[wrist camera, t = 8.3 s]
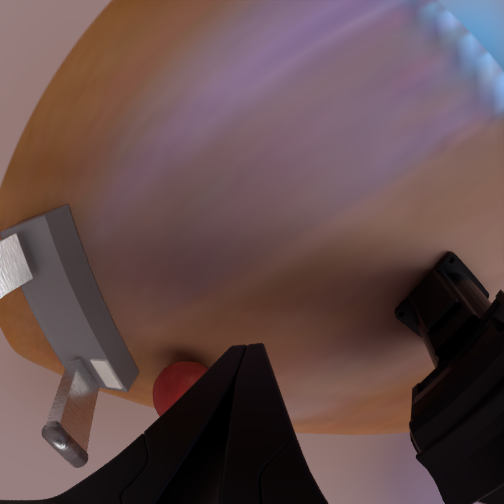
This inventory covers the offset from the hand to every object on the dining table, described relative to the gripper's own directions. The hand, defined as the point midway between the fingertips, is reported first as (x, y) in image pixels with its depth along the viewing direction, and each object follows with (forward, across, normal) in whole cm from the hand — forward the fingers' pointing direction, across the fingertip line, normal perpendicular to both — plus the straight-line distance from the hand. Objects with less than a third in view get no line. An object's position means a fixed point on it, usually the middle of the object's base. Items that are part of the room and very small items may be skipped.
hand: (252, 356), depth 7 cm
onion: (+13, +10, +12) cm, 21 cm away
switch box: (+14, +21, +4) cm, 25 cm away
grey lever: (+10, +21, +11) cm, 25 cm away
